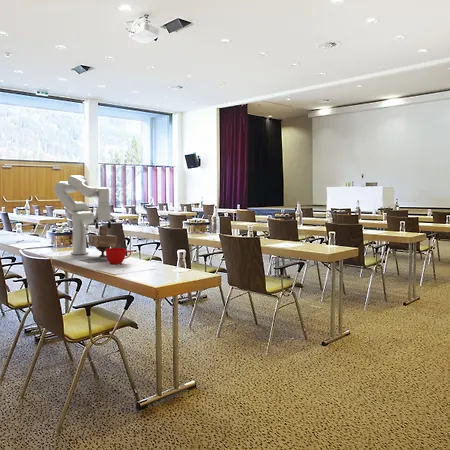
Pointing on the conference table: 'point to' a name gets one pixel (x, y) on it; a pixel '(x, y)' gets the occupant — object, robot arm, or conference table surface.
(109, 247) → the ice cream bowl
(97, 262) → the mat
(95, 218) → the robot arm
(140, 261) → the conference table surface
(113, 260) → the ceramic cup
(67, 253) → the conference table surface
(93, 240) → the brown block with knob
